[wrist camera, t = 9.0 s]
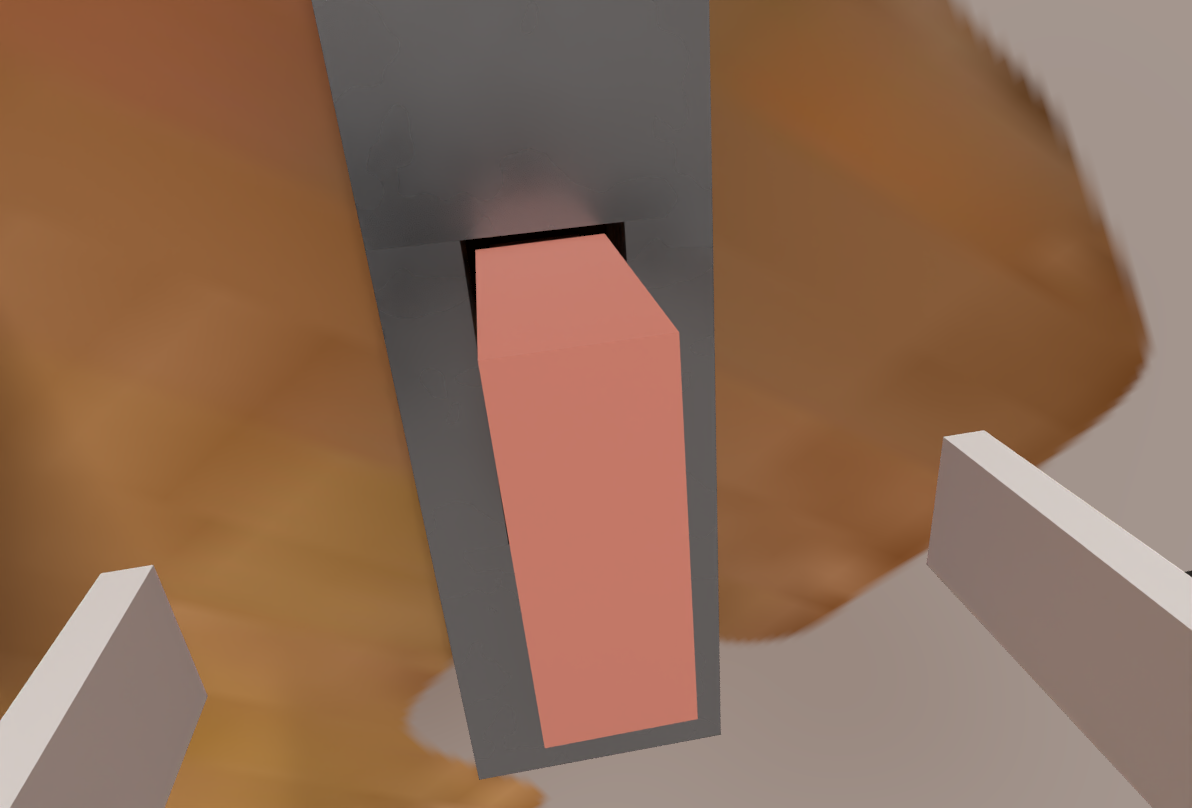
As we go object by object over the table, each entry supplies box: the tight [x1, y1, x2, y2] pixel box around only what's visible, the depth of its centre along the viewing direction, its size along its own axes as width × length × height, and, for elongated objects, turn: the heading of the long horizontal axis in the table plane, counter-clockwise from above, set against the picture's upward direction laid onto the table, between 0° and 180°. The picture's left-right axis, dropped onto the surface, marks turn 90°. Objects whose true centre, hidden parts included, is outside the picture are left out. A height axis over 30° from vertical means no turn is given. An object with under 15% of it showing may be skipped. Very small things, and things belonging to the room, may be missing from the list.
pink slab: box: [475, 234, 698, 748], centre depth 17 cm, size 3×8×10 cm, turn 6°
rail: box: [312, 0, 721, 780], centre depth 20 cm, size 8×26×3 cm, turn 5°
